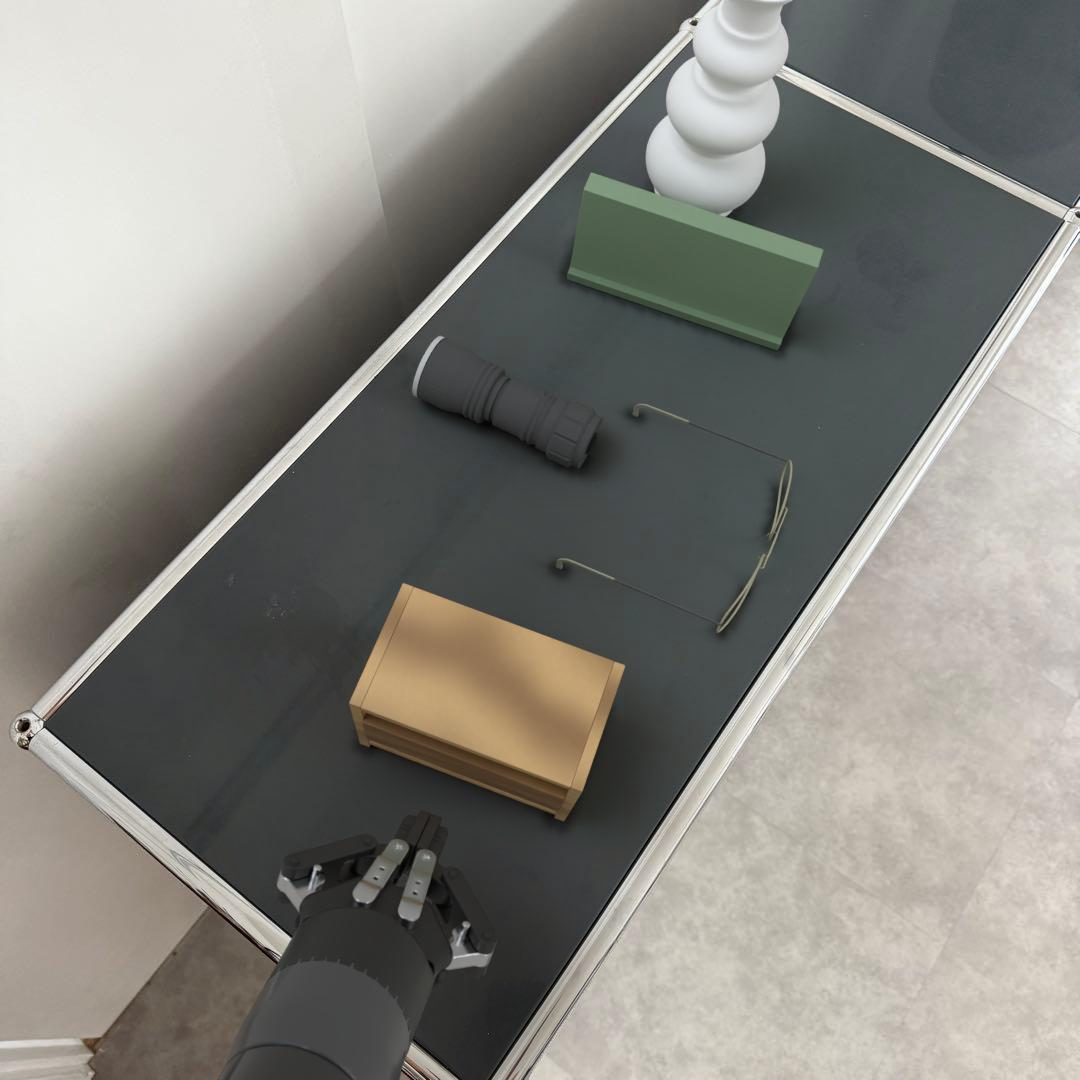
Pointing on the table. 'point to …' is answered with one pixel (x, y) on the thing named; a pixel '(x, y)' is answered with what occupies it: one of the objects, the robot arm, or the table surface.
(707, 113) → the vase
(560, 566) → the eyeglasses
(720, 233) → the wall board
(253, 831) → the table surface
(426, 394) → the flashlight
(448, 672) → the wooden drawer chest
